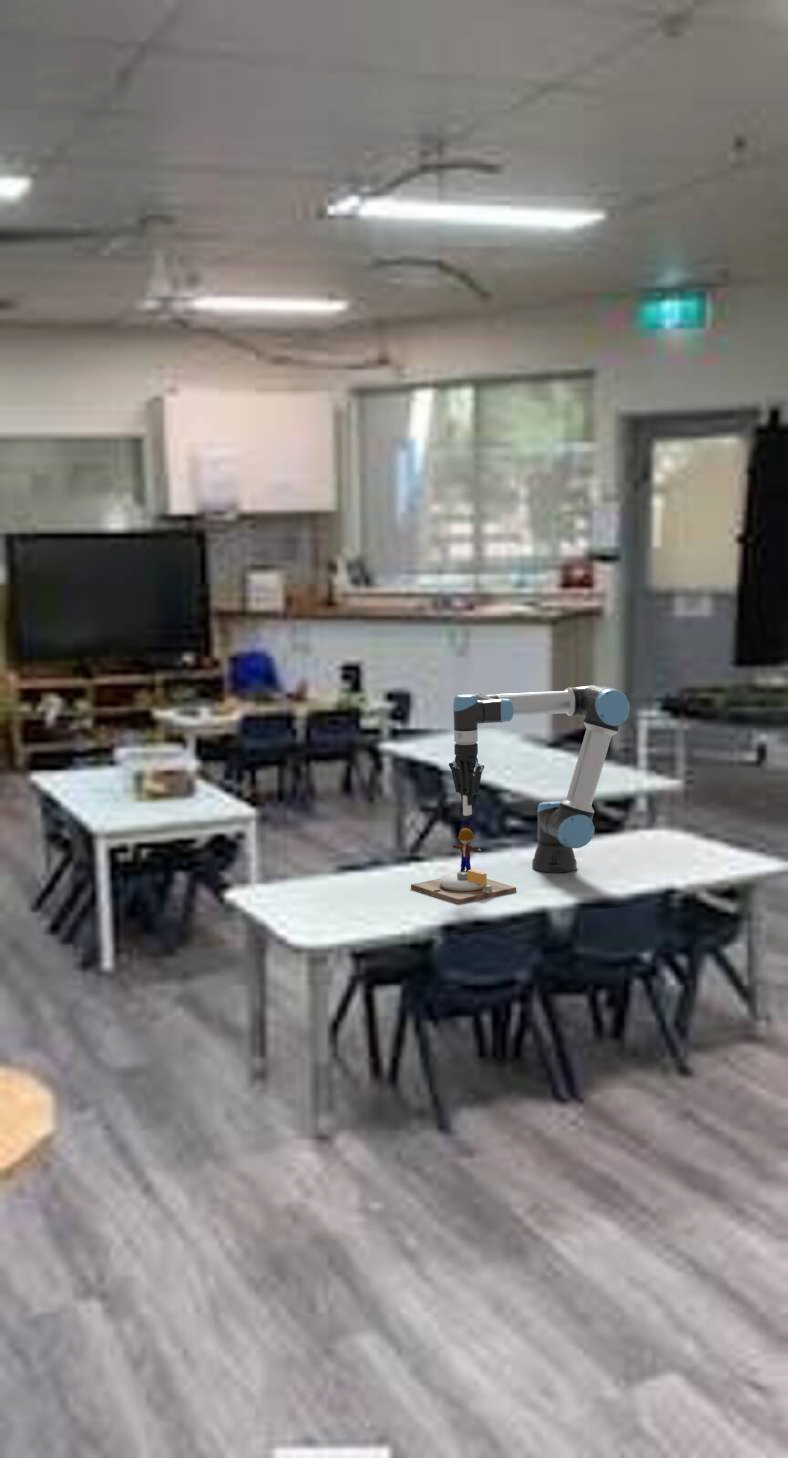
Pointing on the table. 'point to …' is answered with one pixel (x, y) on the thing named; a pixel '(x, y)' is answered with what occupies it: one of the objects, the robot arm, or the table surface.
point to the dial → (464, 881)
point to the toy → (465, 848)
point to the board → (463, 896)
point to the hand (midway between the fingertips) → (467, 814)
